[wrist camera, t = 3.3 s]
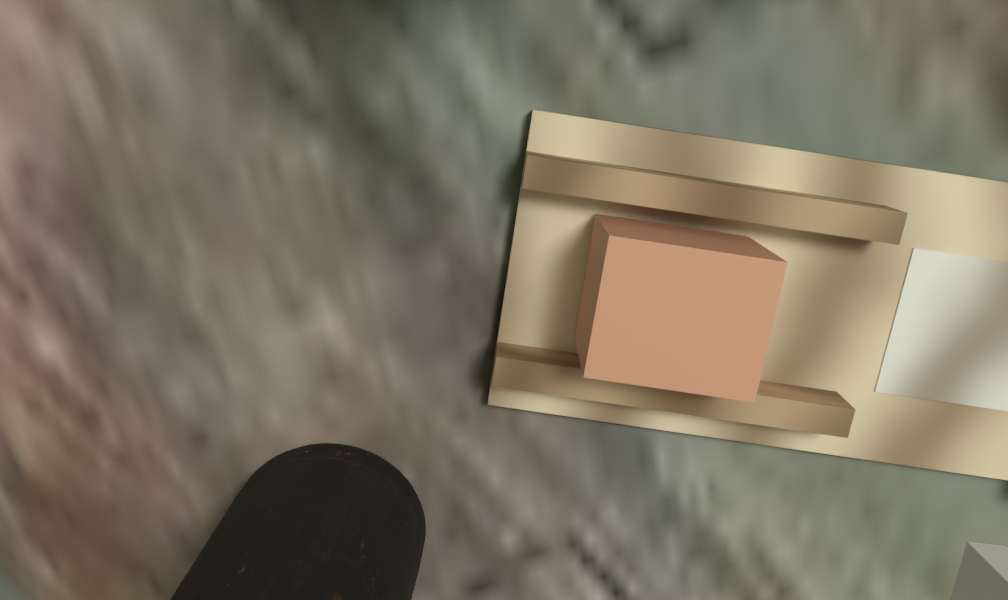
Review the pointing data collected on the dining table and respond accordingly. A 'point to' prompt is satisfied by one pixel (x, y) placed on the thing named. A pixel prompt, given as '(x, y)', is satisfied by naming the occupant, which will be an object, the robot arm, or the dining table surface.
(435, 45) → the dining table surface
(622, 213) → the chute
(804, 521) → the dining table surface
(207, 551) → the container
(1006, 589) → the robot arm
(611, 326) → the block
